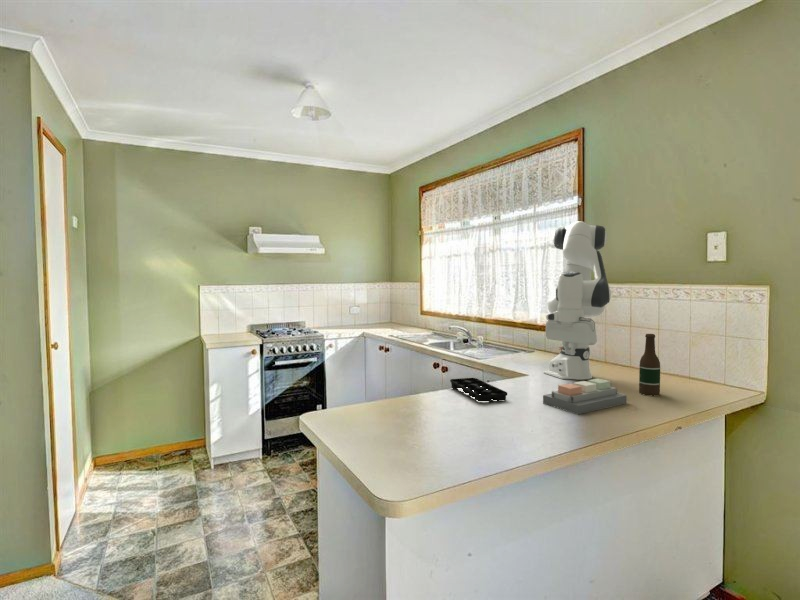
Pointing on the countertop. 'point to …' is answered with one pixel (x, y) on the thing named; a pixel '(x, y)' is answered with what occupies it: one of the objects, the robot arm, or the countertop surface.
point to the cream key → (586, 386)
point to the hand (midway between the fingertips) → (569, 354)
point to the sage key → (600, 383)
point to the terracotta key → (569, 389)
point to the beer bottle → (649, 369)
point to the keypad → (586, 400)
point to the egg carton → (479, 389)
